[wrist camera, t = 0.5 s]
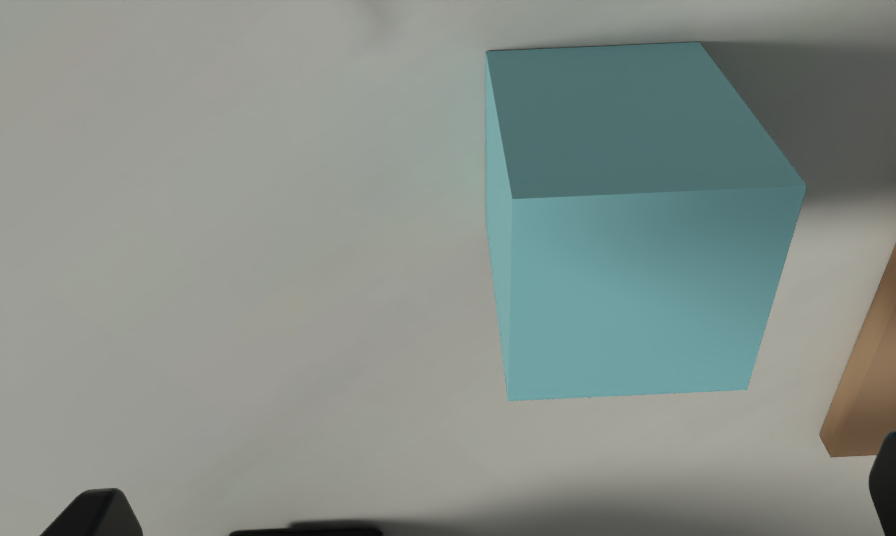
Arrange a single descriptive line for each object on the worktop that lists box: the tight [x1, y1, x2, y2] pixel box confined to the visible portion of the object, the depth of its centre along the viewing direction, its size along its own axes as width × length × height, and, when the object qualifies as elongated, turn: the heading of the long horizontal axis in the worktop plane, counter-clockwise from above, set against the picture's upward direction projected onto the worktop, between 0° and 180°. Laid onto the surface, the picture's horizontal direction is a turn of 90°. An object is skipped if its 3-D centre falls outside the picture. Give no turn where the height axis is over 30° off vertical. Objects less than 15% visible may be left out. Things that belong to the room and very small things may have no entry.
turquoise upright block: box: [486, 42, 807, 401], centre depth 18 cm, size 5×5×7 cm
